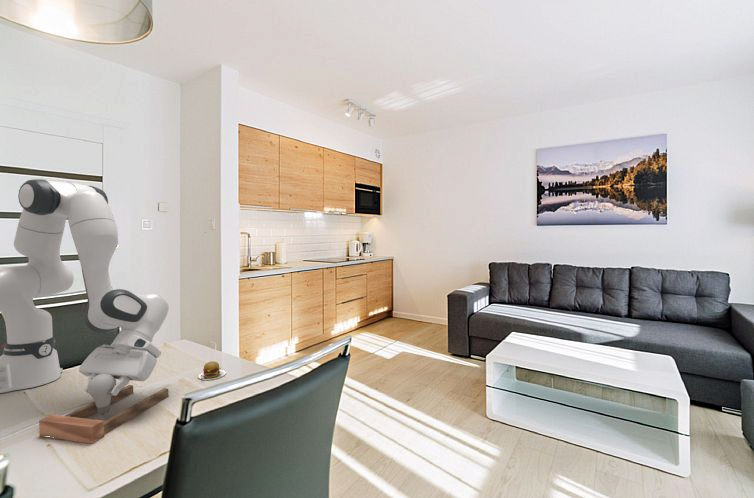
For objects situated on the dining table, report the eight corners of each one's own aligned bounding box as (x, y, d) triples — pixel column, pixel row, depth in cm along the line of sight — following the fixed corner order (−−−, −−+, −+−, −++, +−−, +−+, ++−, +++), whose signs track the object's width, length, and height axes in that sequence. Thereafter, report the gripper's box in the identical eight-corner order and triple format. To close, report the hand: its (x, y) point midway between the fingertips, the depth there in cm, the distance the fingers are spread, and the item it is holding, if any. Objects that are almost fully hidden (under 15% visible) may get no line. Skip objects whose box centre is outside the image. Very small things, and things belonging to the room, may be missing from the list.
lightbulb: (116, 407, 102) (114, 368, 102) (118, 415, 97) (116, 374, 97) (89, 414, 98) (86, 374, 98) (89, 423, 93) (87, 380, 93)
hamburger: (237, 371, 133) (236, 356, 133) (218, 385, 121) (218, 369, 121) (206, 370, 135) (206, 355, 134) (185, 383, 123) (184, 367, 123)
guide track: (127, 392, 114) (126, 379, 114) (170, 396, 111) (170, 383, 111) (39, 436, 90) (39, 420, 90) (92, 443, 87) (91, 427, 87)
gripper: (92, 338, 106) (58, 385, 97) (154, 342, 102) (124, 392, 93) (107, 348, 110) (76, 394, 101) (166, 353, 106) (139, 401, 97)
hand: (100, 393), depth 97 cm, fingers closed on lightbulb, 6 cm apart
